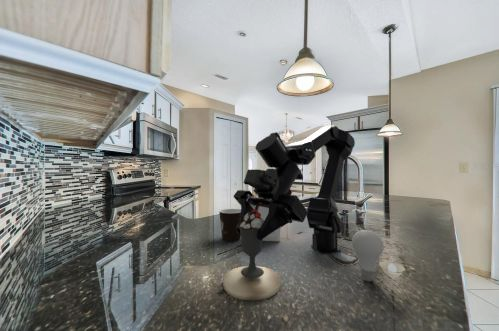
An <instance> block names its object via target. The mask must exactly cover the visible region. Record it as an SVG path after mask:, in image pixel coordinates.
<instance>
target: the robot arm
mask: <svg viewBox="0 0 499 331" xmlns="http://www.w3.org/2000/svg"><path fill="white" fill-rule="evenodd" d="M355 145H356V142H355V138H354V137H353V135H352V134H351V133H350V132H348V131H345V130H344V129H340V128H339V127H337V125H328V126H323V127H320V128H319V129H318V130H317V131H316V132H314V133H312V134H311V135H309V136H308V137H307V138H304V139H303V140H301V141H297V142H291V143H290V144H286V145H285V144H284V142H283V140H282V139H281V136H280V134H279V132H271V133H270V134H269V135H267V136H266V137H264V138H263V139H262V140H260V141H258V142H257V144H255V150H256V152H257V153H258V154H259V156H260V157H261V159H262V160H263V162H264V163H265V164H266V166H267V167H268V168H267V169H266V170H264V169H263V170H262V169H247V171H246V174H245V177H244V179H243V184H244V185H248V186H250V187H252V188H253V192H254V193H255V194H256V195H257V196H258V197H257V196H255V195H254V194H253V193H252V192H251V190H245V189H239V190H236V191H235V193H234V195H233V199H235V201H236V202H237V203H238V204H239V205H240V210H241V213H240V214H241V215H244V216H245V215H246V214H247V213H249V212H252V210H253V209H255V208H256V207H257V208H256V210H257V209H258V207H259V205H260V204H259V203H262V205H260V206H261V207H265V208H269V213H268V215H267V217H266V219H265V221H264V222H263V224H262V226H261V228H260V230H259V232H258V234H257V239H258V240H262V239H263V238H265V237H266V236H268V235H269V234H271V233H272V232H274V231H275V230H277V229H279V228H280V227H281V228H282V227H284V226H286V225H287V224H293V221H294V222H298V223H304V222H305V220H306V219H307V224H308V228H309V229H313V233H312V237H311V238H312V240H311V241H312V244H311V245H310V248H312V249H314V250H315V251H316V252H319V253H320V254H323V255H325V254H326V255H327V254H335V253H342V252H341V251H342V250H341V249H339V248H338V234H340V233H342V231H343V225H344V224H343V221H342V220H341V218H340V216H339V215H338V213H339V212H338V211H339V210H338V206H337V204H336V202H335V201H336V200H335V199H336V195H337V191H338V187H339V183H340V179H341V175H342V171H343V166H344V162H345V161H346V159H347V158H348V157H350V156H351V154H352V152H353V150H354V147H355ZM322 147H325V150H326V153H327V155H328V158H327V162H326V167H325V169H324V170H325V171H324V173H323V177H322V180H321V184H320V188H319V192H318V195H317V196H316V197H310V199H309V202H308V207H307V208H306V207H305V205H304V204H303V203H302V201H301V200H300V198H299V196H298V195H297V194H293V191H292V190H291V188H292V186H293V184H294V183H295V181H296V180H299V181H303V180H304V175H303V173H302V169H300V168H299V166H309V164H311V162H312V161H313V160H314V159H315V157H316V152H317V151H318V150H320V149H321V148H322ZM238 223H240V217H239V221H238ZM237 225H238V224H237ZM236 231H237V232H238V233H240V228H238V227H237V228H236Z"/></svg>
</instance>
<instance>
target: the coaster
mask: <svg viewBox="0 0 499 331" xmlns="http://www.w3.org/2000/svg"><path fill="white" fill-rule="evenodd" d="M248 266H249V265H244V266H239V267H236V268H233V269H230V270H229V271H228V272H226V273H225V274H224V276H223V279H222V280H223V283H222V286H223V289H224V292H226V293H227V294H228V295H229V296H231V297H232V298H235V299H237V300H243V301H261V300H265V299H268V298H271V297H272V296H275V294H277V293H278V292H279V290H280V288H281V280H280V279H281V278H280V276H279V274H278V273H277V272H276V271H274V270H272V269H271V268H268V267H264V266H258V265H256V267H259V268H261V269H262V270H263V271H264V274H263V275H262V276H260V277H257V278H248V277H244V276H243V275H242V274H241V270H242V269H243V268H246V267H248Z"/></svg>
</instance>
